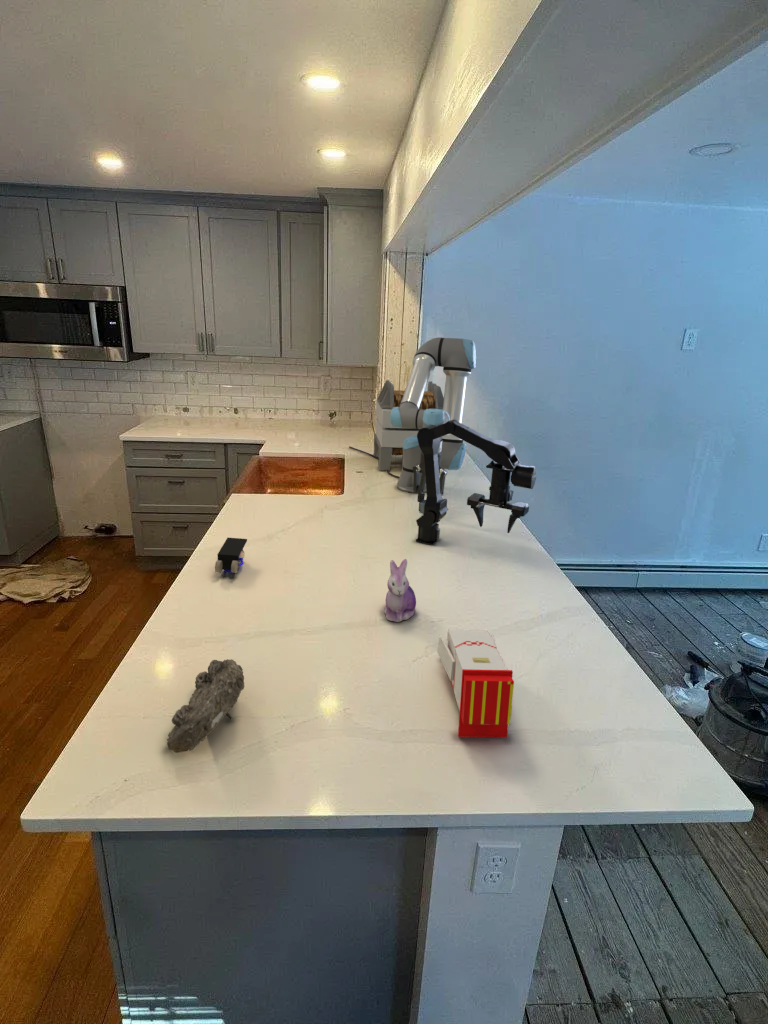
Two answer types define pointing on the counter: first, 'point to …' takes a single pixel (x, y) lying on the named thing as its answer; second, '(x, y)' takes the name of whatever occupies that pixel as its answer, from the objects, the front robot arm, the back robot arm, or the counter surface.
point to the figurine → (399, 594)
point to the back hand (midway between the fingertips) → (426, 511)
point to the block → (422, 506)
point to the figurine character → (230, 556)
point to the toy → (478, 682)
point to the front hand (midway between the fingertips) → (494, 529)
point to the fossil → (206, 705)
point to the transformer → (392, 437)
